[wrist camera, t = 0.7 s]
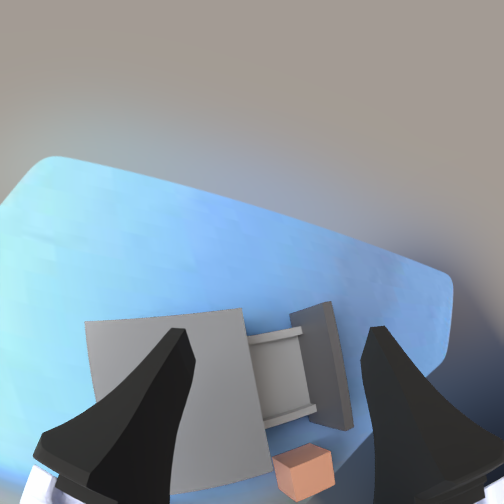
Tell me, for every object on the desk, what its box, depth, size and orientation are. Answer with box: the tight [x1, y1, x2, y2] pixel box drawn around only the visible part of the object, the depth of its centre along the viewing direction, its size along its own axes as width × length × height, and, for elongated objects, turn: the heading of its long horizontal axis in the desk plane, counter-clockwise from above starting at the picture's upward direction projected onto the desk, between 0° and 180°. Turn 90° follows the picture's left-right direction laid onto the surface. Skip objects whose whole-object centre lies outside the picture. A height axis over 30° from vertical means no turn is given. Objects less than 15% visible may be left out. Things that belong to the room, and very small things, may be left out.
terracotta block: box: [272, 443, 335, 502], centre depth 21 cm, size 4×4×4 cm
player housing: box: [85, 308, 274, 495], centre depth 19 cm, size 13×11×7 cm
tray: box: [247, 301, 354, 431], centre depth 22 cm, size 12×11×6 cm
